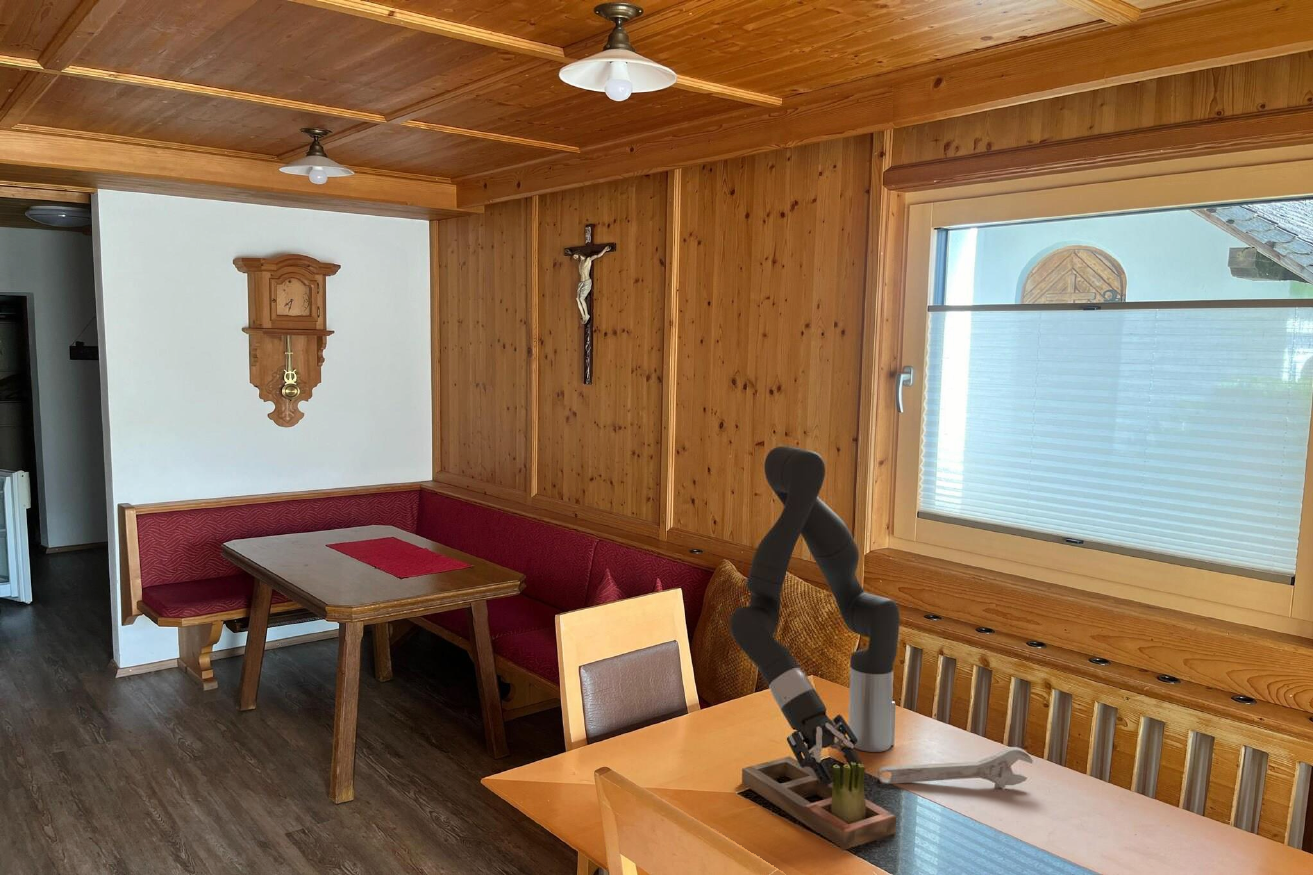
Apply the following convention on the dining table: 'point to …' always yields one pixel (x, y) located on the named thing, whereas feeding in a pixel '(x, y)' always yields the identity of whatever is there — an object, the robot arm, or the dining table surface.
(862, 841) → the brown flat frame piece
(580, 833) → the dining table surface
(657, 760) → the dining table surface
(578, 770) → the dining table surface
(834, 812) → the fennel bulb
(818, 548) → the robot arm
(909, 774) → the wrench
